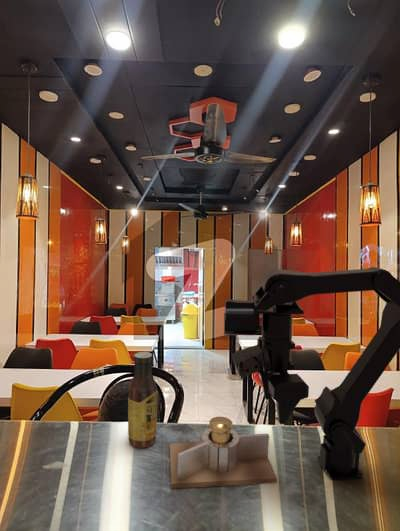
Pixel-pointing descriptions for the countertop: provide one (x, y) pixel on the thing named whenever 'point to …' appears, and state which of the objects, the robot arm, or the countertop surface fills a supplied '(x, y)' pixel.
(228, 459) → the hinge
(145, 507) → the countertop surface
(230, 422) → the hinge pin
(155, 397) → the sauce bottle
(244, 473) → the walnut board
